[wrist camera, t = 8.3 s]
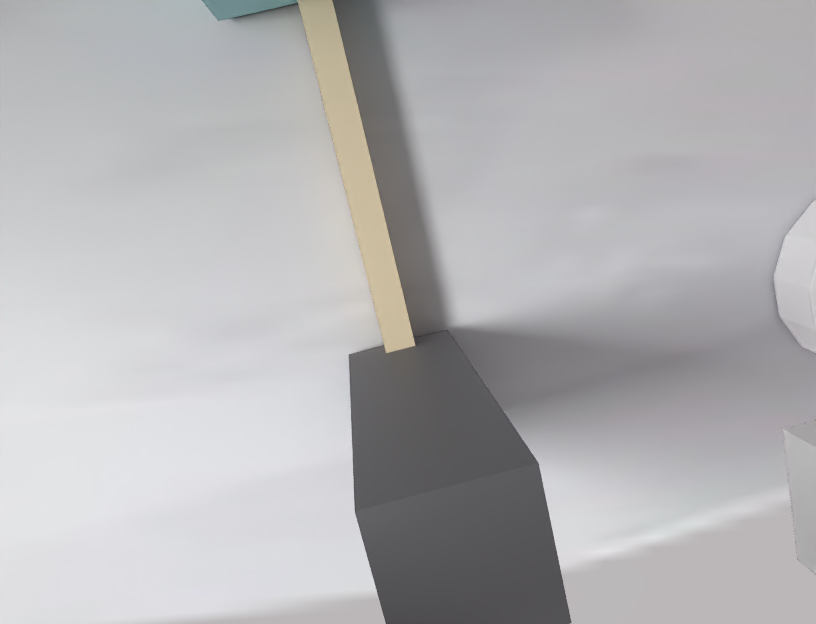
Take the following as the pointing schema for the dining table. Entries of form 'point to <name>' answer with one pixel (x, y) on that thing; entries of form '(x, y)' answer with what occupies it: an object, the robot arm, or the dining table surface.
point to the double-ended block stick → (427, 423)
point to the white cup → (799, 279)
